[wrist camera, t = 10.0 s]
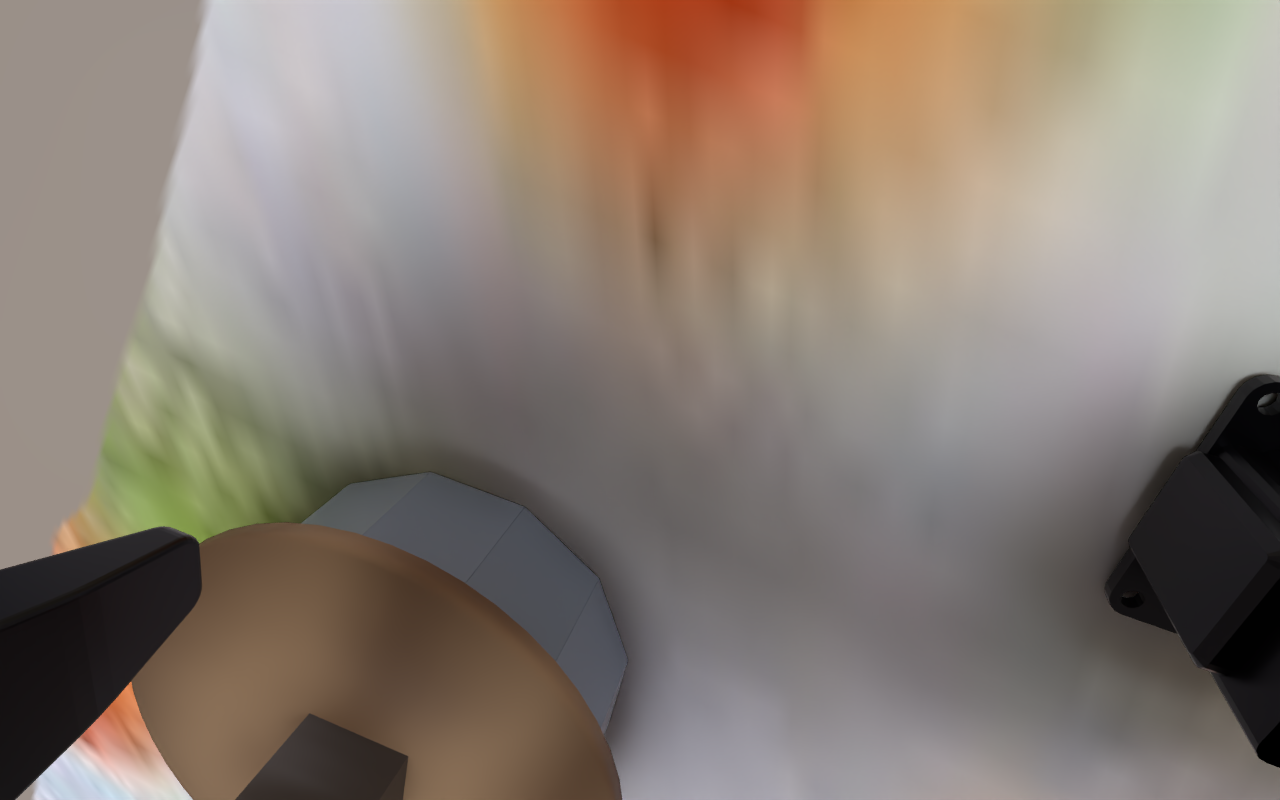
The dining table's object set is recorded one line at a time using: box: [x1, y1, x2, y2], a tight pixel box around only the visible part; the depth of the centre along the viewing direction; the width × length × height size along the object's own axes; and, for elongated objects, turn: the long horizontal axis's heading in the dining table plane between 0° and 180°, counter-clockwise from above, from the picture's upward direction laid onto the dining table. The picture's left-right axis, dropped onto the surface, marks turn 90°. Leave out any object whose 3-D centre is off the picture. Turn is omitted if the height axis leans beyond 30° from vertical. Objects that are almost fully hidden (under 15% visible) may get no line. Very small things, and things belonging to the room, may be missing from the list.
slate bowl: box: [301, 472, 628, 735], centre depth 23 cm, size 12×12×5 cm
